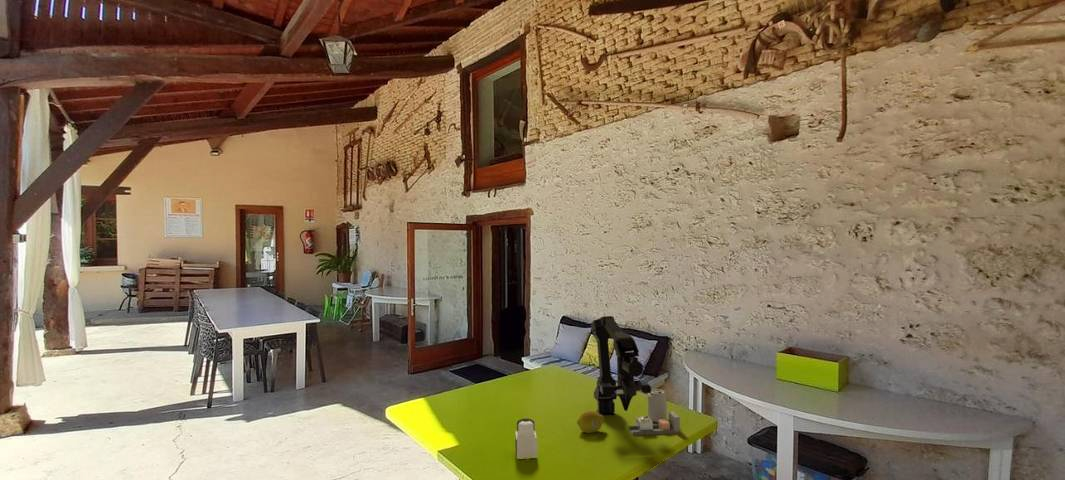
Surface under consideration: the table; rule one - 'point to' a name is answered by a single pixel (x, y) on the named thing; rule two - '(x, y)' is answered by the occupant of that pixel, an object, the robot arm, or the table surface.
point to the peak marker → (663, 424)
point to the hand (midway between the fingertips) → (625, 410)
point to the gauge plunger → (644, 423)
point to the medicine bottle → (525, 439)
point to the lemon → (590, 421)
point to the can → (657, 405)
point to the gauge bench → (673, 421)
